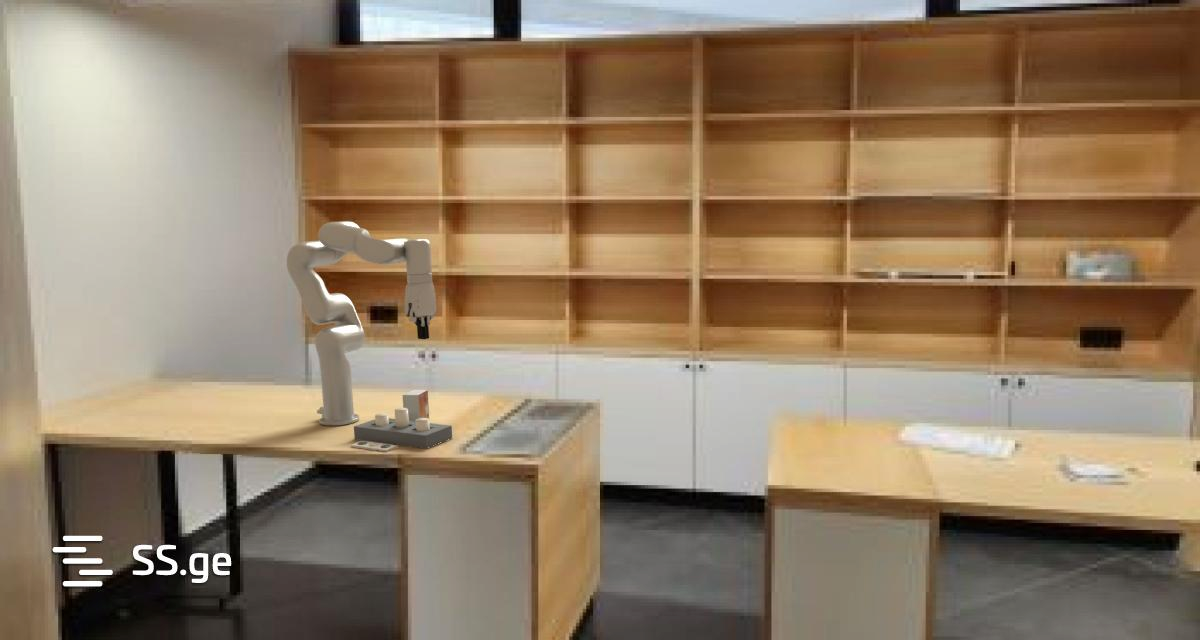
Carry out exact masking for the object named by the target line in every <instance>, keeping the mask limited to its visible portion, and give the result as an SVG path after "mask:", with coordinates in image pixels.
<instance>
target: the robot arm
mask: <svg viewBox="0 0 1200 640" xmlns="http://www.w3.org/2000/svg"><path fill="white" fill-rule="evenodd" d="M317 235H318V236H317V237H318V240H311V241H310V240H309V241H303V242H302V241H301V242H299V243H296V244H295V245H293V246H292V247H290V249H289V251H288V253H287V256H286V268H287V272H288V274H289V276H290V278H291V280H292V282H293V283H294V285H295V287H296V289H297V291H298V294H299V297H300V299H301V301H302V304H303V306H304V308H305V311H306V314H307V316H308V318H309V319H310V321H311V322H312V324H315V325H319V326H321V325H327V324H333V323H334V325H331V326H327V327H324V328H322V329H321V330H320V331H318V332H317V334H316V335H315V339H314V345H315V349H316V353H317V356H318V361H319V362H318V363H319V369H320V377H321V380H320V381H321V393H322V403H323V404H322V405H323V406H320V407H319V408H318V409H317V410H316V414H319V415H321V418H320V419H319V424H320V425H322V426H328V427H330V426H333V427H334V426H335V427H336V426H344V425H349V424H353V423H357V422H358V421H359V420H360V416H359V414H357V413H355V408H354V398H353V397H354V396H353V383H352V382H353V380H352V371H351V370H352V369H351V368H352V367H351V364H350V361H349V360H348V358H347V356H346V353H351V352H354V351H358V350H360V349H361V348H362V347H363V346H364V344H365V341H366V335H365V330H364V328H363V325H362V322H361V321H360V318H359V315H358V313H357V310H356V308H355V306H354V304H353V301H352V300H351V299H350V297H348V296H347V295H345V294H344V293H342V292H341V293H340V292H334V293H329V291H328V289H327V287H326V285H325V281H324V280H323V279H322V277H321V276H320V275H319V274H318V273H317V272H316V271H315V270H314V268H318V267H327V266H332V265H335V264H336V263H338V262H339V261H341V260H342V259H343V258H345V257H346V255H348V254H352V255H356V256H357V257H358V258H360V259H361V260H363V261H365V262H369V263H374V264H379V265H394V264H400V263H406V280H407V284H406V285H405V290H404V291H405V292H404V314H405V315H404V316H405V317H408V318H409V319H408V320H409V322H411V323H414V325H415V327H416V332H417V340H428V339H429V338H430V333H429V332H430V330H429V329H430V328H429V326H430V324H431V320H432V319H434V318H435V316H436V315H435V314H436V312H437V299H436V297H437V295H436V291H435V287H434V283H433V271H432V270H433V269H432V266H433V265H432V252H431V243H430V240H428V239H426V238H407V237H400V238H388V239H379V238H375V237H371V234H370V231H368V229H366V228H362V227H360V226H359V225H358V224H357V223H355V222H353V221H351V220H349V221H348V220H346V221H345V220H343V221H330V222H327V223H325V224H323V225H322V226H321V227H320V228H319V230H318V234H317Z"/></svg>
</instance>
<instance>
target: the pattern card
mask: <svg viewBox="0 0 1200 640" xmlns="http://www.w3.org/2000/svg"><path fill="white" fill-rule="evenodd" d="M349 446H350V448H357V449H365V450H370V451H376V450H379V451H378V452H383V451H388V452H390V451H392V450H391V449H393V450H395V449H397V447H398V448H399V445H394V444H386V443H379V442H372V441H364V440H359V441H357V442H354V443H352V444H349ZM394 448H395V449H394ZM389 450H390V451H389Z"/></svg>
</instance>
